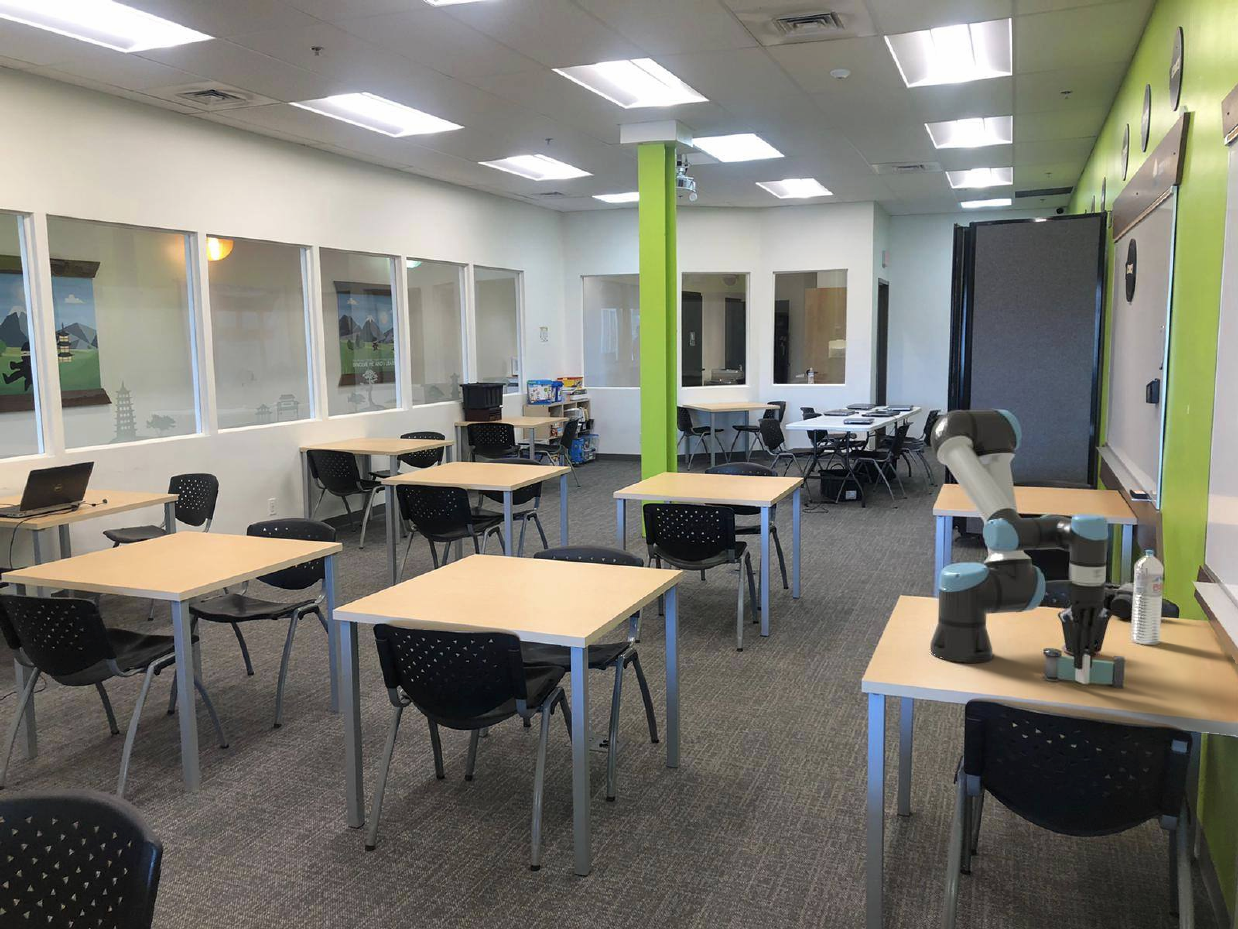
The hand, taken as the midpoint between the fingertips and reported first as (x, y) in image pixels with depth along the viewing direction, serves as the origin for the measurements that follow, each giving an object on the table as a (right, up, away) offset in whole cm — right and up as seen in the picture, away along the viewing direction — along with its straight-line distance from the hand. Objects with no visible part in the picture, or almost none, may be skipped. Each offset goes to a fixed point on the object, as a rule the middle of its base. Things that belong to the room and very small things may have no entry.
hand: (1082, 681), depth 215 cm
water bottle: (+34, +2, +35) cm, 49 cm away
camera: (+41, +5, +58) cm, 71 cm away
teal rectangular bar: (+2, -1, +5) cm, 5 cm away
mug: (+14, +1, +27) cm, 30 cm away
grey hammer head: (-4, -1, +7) cm, 8 cm away
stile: (+9, -2, +2) cm, 10 cm away
